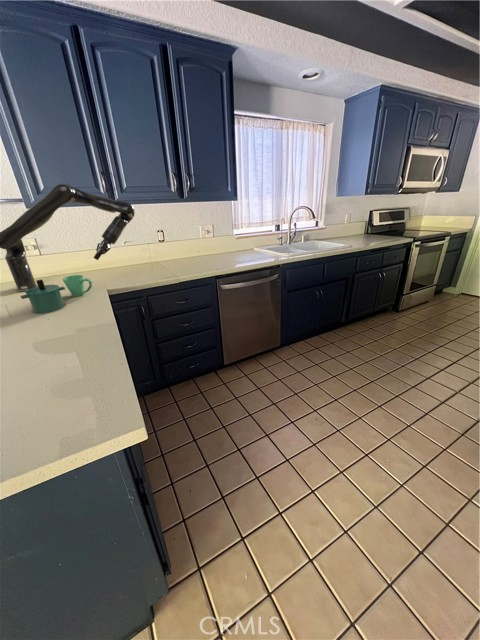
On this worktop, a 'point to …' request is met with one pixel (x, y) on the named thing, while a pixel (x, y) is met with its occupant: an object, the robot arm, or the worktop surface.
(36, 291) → the pot lid
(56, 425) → the worktop surface
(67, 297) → the worktop surface
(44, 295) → the pot
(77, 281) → the mug
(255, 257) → the worktop surface
